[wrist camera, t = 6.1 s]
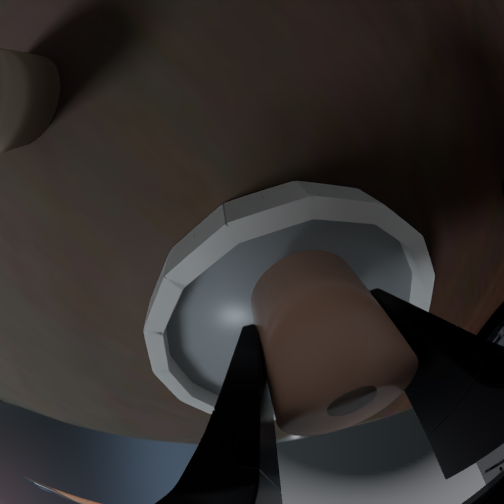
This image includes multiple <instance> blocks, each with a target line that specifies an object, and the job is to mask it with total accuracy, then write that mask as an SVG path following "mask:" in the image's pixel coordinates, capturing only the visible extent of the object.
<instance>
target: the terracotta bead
mask: <svg viewBox="0 0 504 504" xmlns="http://www.w3.org/2000/svg"><path fill="white" fill-rule="evenodd" d="M251 311H252V316H253V321H254V324H255V325H256V329H257V334H258V338H259V343H260V347H261V352H262V357H263V362H264V369H265V374H266V379H267V384H268V388H269V392H270V397H271V401H272V405H273V410H274V414H275V418H276V423H277V425H278V427H279V428H280V429H281V430H282V431H284V432H286V433H289V434H293V435H302V436H305V435H319V434H325V433H329V432H333V431H337V430H340V429H343V428H346V427H349V426H352V425H354V424H356V423H358V422H361V421H363V420H365V419H367V418H369V417H370V416H372V415H374V414H375V413H377V412H379V411H380V410H382V409H383V408H385V407H386V406H387V405H389V404H390V403H391V402H392V401H394V400H395V399H396V398H397V397H398V396H399V395H400V394H401V393H402V392H403V391H404V390H405V389H406V388H407V386H408V385H409V384H410V382H411V381H412V379H413V378H414V376H415V374H416V372H417V369H418V358H417V356H416V354H415V353H414V351H413V350H412V348H411V347H410V346H409V344H408V343H407V341H406V340H405V338H404V337H403V336H402V334H401V333H400V331H399V330H398V329H397V327H396V326H395V324H394V323H393V322H392V320H391V319H390V318H389V316H388V315H387V314H386V312H385V311H384V310H383V308H382V307H381V306H380V304H379V303H378V302H377V300H376V299H375V298H374V296H373V295H372V294H371V292H370V291H369V290H368V289H367V287H366V286H365V285H364V283H363V282H362V281H361V280H360V278H359V277H358V276H357V275H356V273H355V272H354V271H353V270H352V268H351V267H350V266H349V265H348V263H347V262H346V261H345V260H344V259H343V258H341V257H340V256H338V255H336V254H334V253H331V252H329V251H323V250H307V251H301V252H298V253H294V254H291V255H289V256H287V257H285V258H283V259H281V260H279V261H278V262H276V263H275V264H274V265H272V266H271V267H270V268H269V269H268V270H266V271H265V273H264V274H263V275H262V276H261V277H260V279H259V280H258V282H257V283H256V285H255V287H254V289H253V292H252V296H251Z"/></svg>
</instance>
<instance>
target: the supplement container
mask: <svg viewBox="0 0 504 504" xmlns="http://www.w3.org/2000/svg"><path fill="white" fill-rule="evenodd" d="M478 336H479V337H481V338H484V339H486V340H489V341H491V342H494V343H496V344H499V345H502V346H504V305H503V306H502V307H501V308H500V309H499V310H498V311H497V312H496V313H495V314H494V315H493V316H492V317H491V319H490V320H489V321H488V322H487V323H486V325H485V326H484V327H483V329H482V330H481V331H480V333H479V334H478Z"/></svg>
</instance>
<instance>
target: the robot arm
mask: <svg viewBox="0 0 504 504" xmlns="http://www.w3.org/2000/svg"><path fill="white" fill-rule="evenodd" d="M503 193H504V185H503ZM369 291H370V292H371V294H372V295H373V296H374V298H375V299H376V300H377V302H378V303H379V304H380V306H381V307H382V308H383V310H384V311H385V312H386V314H387V315H388V316H389V318H390V319H391V320H392V322H393V323H394V324H395V326H396V327H397V329H398V330H399V331H400V333H401V334H402V336H403V337H404V338H405V340H406V341H407V343H408V344H409V346H410V347H411V348H412V350H413V351H414V353H415V354H416V356H417V358H418V369H417V372H416V374H415V376H414V378H413V379H412V381H411V382H410V384H409V385H408V386H407V388H406V389H405V390H404V391H405V393H406V395H407V397H408V399H409V401H410V403H411V405H412V407H413V409H414V411H415V413H416V415H417V416H418V419H419V420H420V423H421V425H422V427H423V429H424V431H425V433H426V435H427V437H428V440H429V442H430V444H431V447H432V449H433V451H434V453H435V456H436V458H437V460H438V462H439V465H440V467H441V469H442V472H443V474H444V477H445V479H448V478H450V477H452V476H454V475H455V474H457V473H459V472H461V471H463V470H464V469H466V468H468V467H469V466H471V465H473V464H474V463H477V465H478V467H479V469H480V472H481V474H482V476H483V478H484V480H485V483H486V485H485V486H484V487H483V488H482V489H481V490H479V491H478V492H477V493H475V494H474V495H473V496H471V497H470V498H469V499H468V500H466V501H465V502H463V503H462V504H504V346H502V345H499V344H496V343H494V342H491V341H489V340H486V339H484V338H481V337H479V336H477V335H474V334H472V333H470V332H468V331H466V330H464V329H462V328H460V327H458V326H457V327H456V326H455V325H454V324H452V323H450V322H448V321H446V320H444V319H442V318H440V317H437V316H435V315H433V314H431V313H429V312H427V311H425V310H423V309H421V308H419V307H417V306H415V305H413V304H411V303H409V302H407V301H405V300H402V299H400V298H398V297H396V296H394V295H392V294H390V293H388V292H386V291H384V290H381V289H379V288H375V289H372V290H369ZM155 504H282V495H281V486H280V476H279V465H278V456H277V445H276V435H275V425H274V415H273V405H272V401H271V397H270V392H269V388H268V384H267V379H266V374H265V369H264V362H263V357H262V352H261V347H260V343H259V338H258V334H257V329H256V325H255V324H250V325H246V326H243V327H242V330H241V333H240V336H239V338H238V341H237V344H236V347H235V350H234V353H233V356H232V359H231V361H230V364H229V367H228V370H227V373H226V376H225V379H224V381H223V384H222V387H221V390H220V393H219V395H218V398H217V401H216V404H215V407H214V410H213V412H212V415H211V418H210V420H209V423H208V425H207V428H206V430H205V433H204V435H203V437H202V439H201V441H200V443H199V445H198V447H197V449H196V451H195V453H194V454H193V456H192V458H191V460H190V462H189V463H188V465H187V467H186V469H185V471H184V473H183V474H182V476H181V478H180V480H179V481H178V483H177V484H176V485H175V487H174V488H173V489H172V490H171V491H170V492H169V493H168V494H167V495H166V496H164V497H163V498H162V499H161V500H159V501H158V502H157V503H155Z"/></svg>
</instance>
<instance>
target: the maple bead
mask: <svg viewBox="0 0 504 504" xmlns="http://www.w3.org/2000/svg"><path fill="white" fill-rule="evenodd" d="M59 96H60V77H59V73H58V70H57V67H56V66H55V64H54V63H53V61H51V60H50V59H49V58H47V57H45V56H41V55H36V54H32V53H27V52H21V51H15V50H9V49H2V48H0V154H1V153H3V152H6V151H9V150H12V149H15V148H18V147H21V146H24V145H28V144H30V143H32V142H33V141H35V140H36V139H37V138H38V137H40V136H41V135H42V133H43V132H44V131H45V130H46V128H47V127H48V125H49V124H50V122H51V120H52V118H53V116H54V114H55V111H56V108H57V105H58V101H59Z"/></svg>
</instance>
